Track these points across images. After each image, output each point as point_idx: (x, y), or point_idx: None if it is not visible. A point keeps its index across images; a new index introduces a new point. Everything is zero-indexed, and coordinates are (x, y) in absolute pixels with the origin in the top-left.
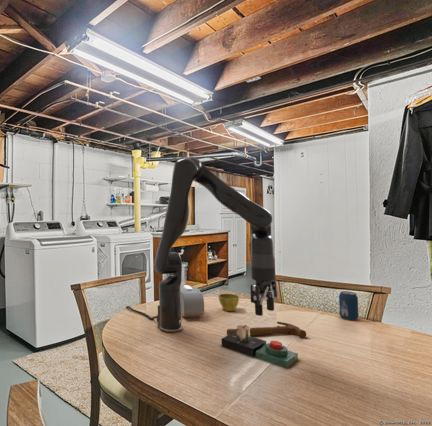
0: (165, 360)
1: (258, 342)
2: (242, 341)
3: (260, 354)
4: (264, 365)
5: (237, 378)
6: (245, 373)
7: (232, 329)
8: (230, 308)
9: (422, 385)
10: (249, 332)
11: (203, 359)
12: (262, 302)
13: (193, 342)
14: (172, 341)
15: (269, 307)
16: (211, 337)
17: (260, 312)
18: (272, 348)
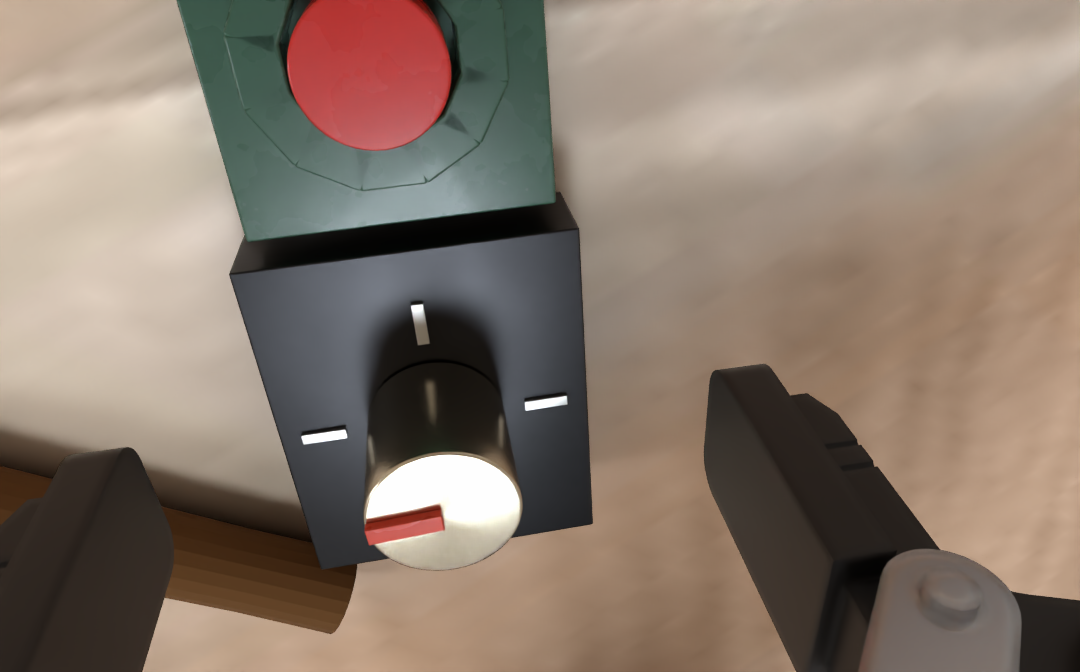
0: (1075, 496)
1: (358, 297)
2: (497, 393)
3: (549, 142)
4: (638, 23)
5: (1059, 35)
6: (928, 45)
7: (300, 611)
8: None
9: None
10: (423, 425)
11: (903, 391)
12: (876, 612)
13: (681, 603)
14: (777, 663)
15: (137, 560)
16: (478, 612)
17: (786, 422)
18: (463, 63)
